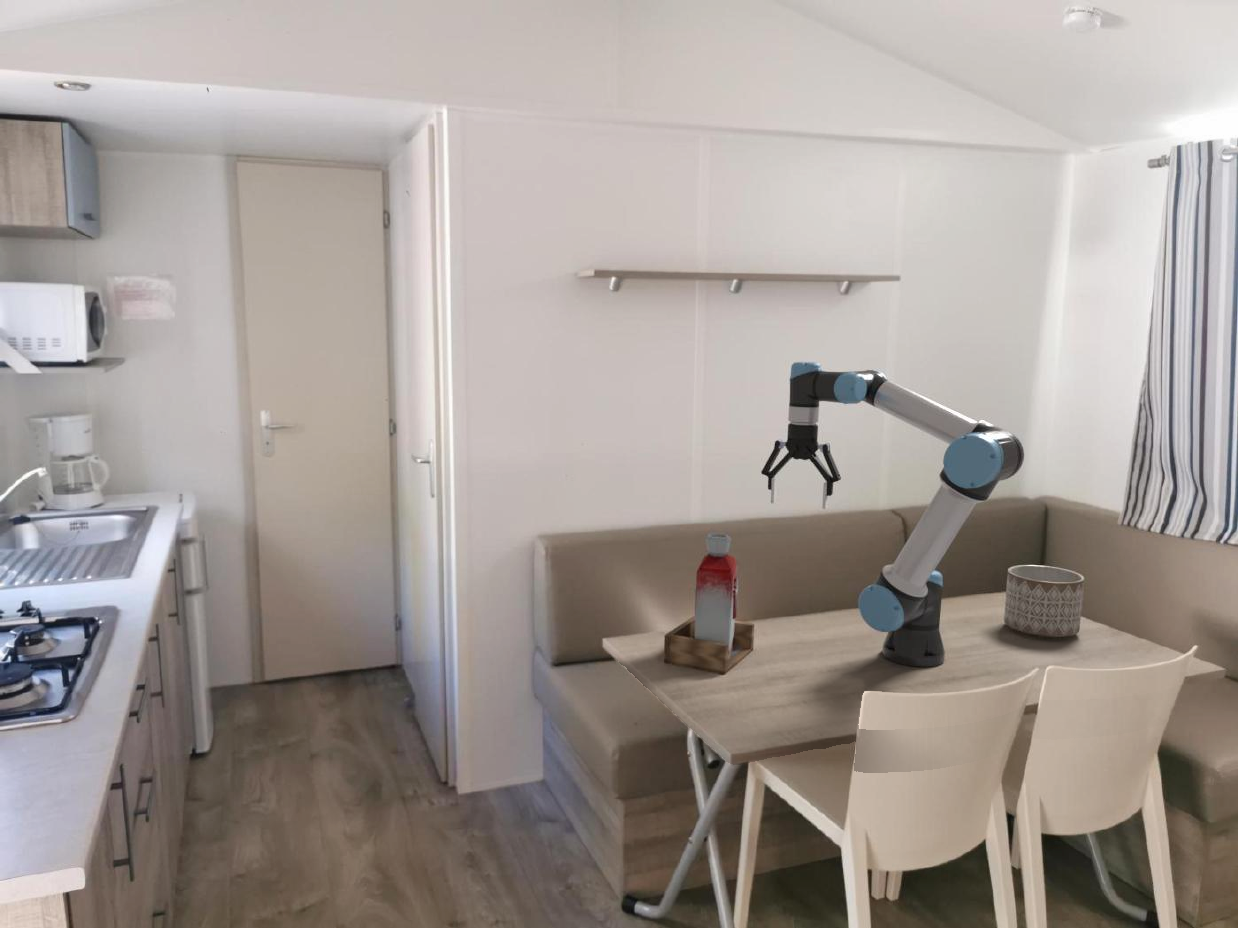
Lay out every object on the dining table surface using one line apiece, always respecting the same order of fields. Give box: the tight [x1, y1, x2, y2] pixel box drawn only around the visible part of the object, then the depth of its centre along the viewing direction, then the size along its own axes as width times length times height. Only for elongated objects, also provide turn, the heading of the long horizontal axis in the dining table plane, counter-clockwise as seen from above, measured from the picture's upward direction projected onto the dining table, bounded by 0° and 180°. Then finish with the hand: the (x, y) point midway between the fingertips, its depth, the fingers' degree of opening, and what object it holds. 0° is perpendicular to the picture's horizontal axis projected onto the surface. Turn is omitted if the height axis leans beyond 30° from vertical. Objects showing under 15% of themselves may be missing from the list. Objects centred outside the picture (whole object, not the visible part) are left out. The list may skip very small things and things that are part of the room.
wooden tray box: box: [663, 614, 755, 675], centre depth 248 cm, size 16×20×7 cm
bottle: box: [694, 533, 739, 660], centre depth 245 cm, size 14×10×30 cm
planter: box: [1003, 564, 1085, 638], centre depth 273 cm, size 19×19×16 cm
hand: (799, 505), depth 255 cm, fingers open, 13 cm apart
